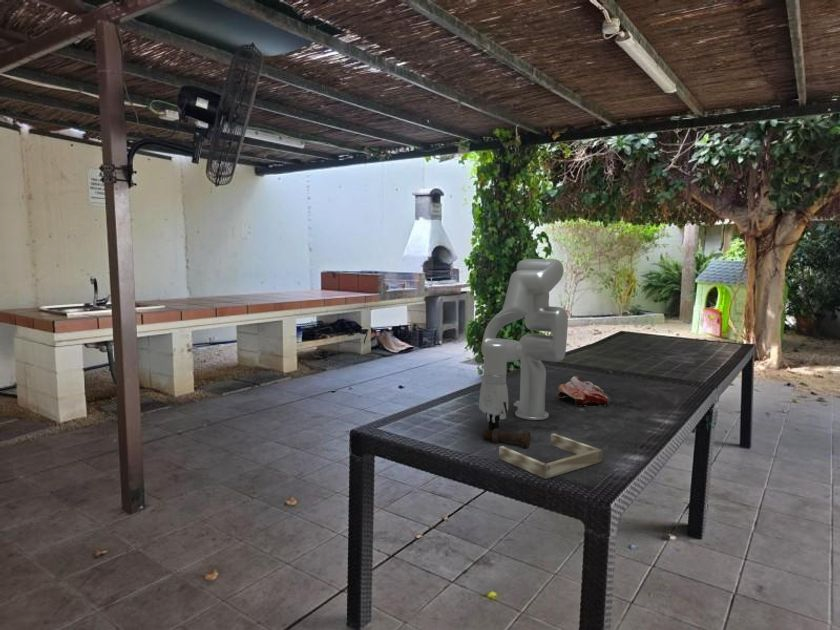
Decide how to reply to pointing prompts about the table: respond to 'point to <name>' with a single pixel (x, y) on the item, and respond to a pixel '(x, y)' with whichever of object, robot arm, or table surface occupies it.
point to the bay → (582, 459)
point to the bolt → (508, 436)
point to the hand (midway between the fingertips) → (493, 432)
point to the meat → (583, 392)
